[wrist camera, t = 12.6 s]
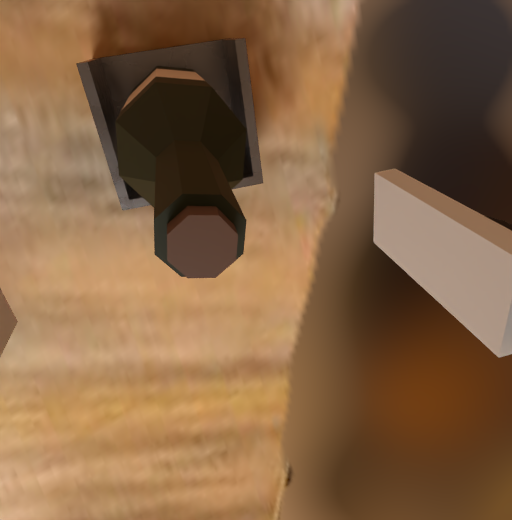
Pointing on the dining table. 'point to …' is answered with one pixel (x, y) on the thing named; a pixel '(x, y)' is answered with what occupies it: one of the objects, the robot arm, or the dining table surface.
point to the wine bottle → (185, 169)
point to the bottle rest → (187, 56)
